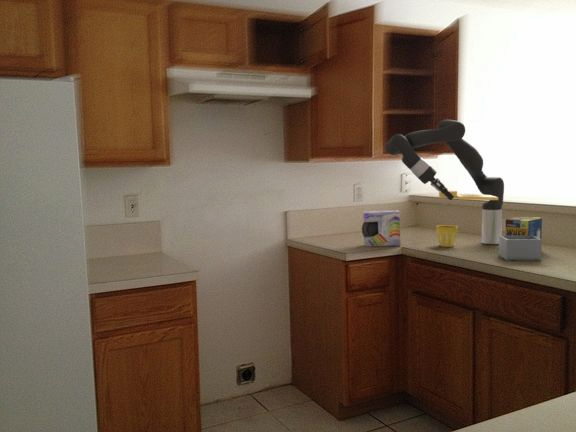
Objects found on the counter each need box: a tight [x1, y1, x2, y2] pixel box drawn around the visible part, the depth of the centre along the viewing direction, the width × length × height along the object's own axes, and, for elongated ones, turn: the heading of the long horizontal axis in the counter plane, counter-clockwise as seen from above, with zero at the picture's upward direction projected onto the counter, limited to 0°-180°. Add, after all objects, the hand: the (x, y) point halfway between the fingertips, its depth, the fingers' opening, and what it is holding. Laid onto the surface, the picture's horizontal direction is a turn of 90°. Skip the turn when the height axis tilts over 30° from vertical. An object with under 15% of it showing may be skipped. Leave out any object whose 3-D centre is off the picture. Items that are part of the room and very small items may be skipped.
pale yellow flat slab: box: [438, 190, 498, 201], centre depth 239 cm, size 14×23×3 cm, turn 83°
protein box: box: [504, 215, 543, 239], centre depth 250 cm, size 10×15×16 cm
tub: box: [498, 235, 543, 261], centre depth 236 cm, size 12×14×9 cm
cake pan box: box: [361, 209, 402, 247], centre depth 278 cm, size 19×5×18 cm, turn 82°
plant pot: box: [435, 224, 459, 248], centre depth 273 cm, size 10×10×10 cm
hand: (451, 198), depth 240 cm, fingers closed on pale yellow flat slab, 4 cm apart
